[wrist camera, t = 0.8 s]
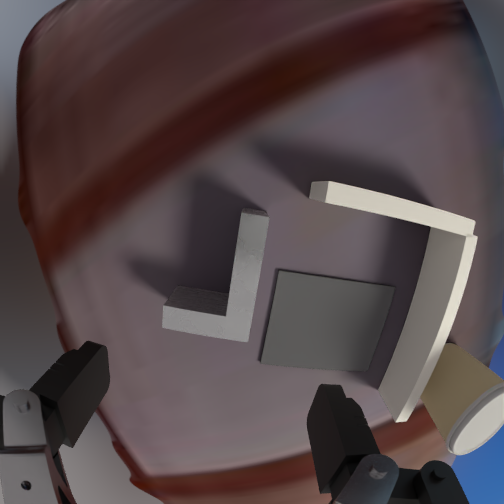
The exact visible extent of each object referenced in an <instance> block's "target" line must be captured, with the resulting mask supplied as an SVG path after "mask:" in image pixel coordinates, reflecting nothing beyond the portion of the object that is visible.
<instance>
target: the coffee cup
mask: <svg viewBox="0 0 504 504" xmlns="http://www.w3.org/2000/svg"><path fill="white" fill-rule="evenodd" d="M420 398H421V399H422V401H423V403H424V405H425V407H426V408H427V410H428V412H429V414H430V416H431V417H432V419H433V421H434V423H435V425H436V426H437V428H438V430H439V432H440V434H441V436H442V437H443V439H444V441H445V443H446V447H447V449H448V450H449V451H450V452H451V453H454V454H456V455H463V454H467V453H469V452H471V451H473V450H475V449H477V448H478V447H480V446H481V445H483V444H484V443H485V442H487V441H488V440H489V439H490V438H491V437H492V436H493V435H494V434H495V433H496V432H497V431H498V430H499V429H500V428H501V426H502V425H503V424H504V380H503V379H501V378H500V377H499V376H498V375H497V374H495V373H494V372H493V371H491V370H490V369H489V368H488V367H486V366H485V365H484V364H482V363H481V362H480V361H478V360H477V359H475V358H474V357H473V356H471V355H470V354H469V353H467V352H466V351H465V350H463V349H462V348H460V347H459V346H457V345H455V344H453V343H446V344H445V345H444V347H443V350H442V352H441V354H440V357H439V359H438V361H437V363H436V366H435V368H434V370H433V372H432V374H431V376H430V378H429V380H428V383H427V385H426V387H425V388H424V390H423V392H422V394H421V396H420Z"/></svg>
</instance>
